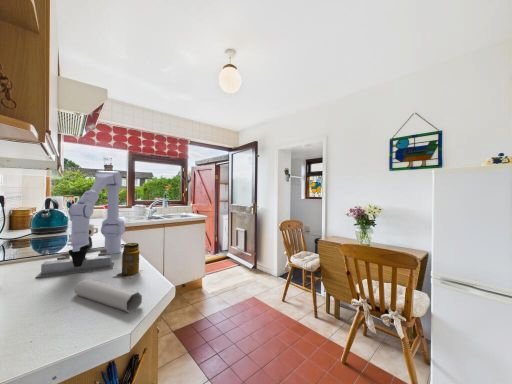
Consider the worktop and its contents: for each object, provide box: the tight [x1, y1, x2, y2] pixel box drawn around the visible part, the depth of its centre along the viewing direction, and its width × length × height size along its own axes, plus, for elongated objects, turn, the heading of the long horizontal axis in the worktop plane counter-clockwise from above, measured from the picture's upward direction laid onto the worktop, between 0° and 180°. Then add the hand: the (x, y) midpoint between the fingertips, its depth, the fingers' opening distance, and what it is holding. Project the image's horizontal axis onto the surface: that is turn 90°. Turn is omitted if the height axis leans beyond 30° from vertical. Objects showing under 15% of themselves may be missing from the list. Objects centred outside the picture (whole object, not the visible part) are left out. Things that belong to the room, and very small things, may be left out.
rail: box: [40, 254, 112, 275], centre depth 89 cm, size 4×22×4 cm, turn 120°
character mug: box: [89, 223, 99, 248], centre depth 122 cm, size 11×7×13 cm, turn 125°
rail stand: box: [56, 248, 108, 260], centre depth 97 cm, size 8×20×4 cm, turn 120°
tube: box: [74, 278, 143, 314], centre depth 65 cm, size 5×5×25 cm
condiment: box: [113, 242, 144, 279], centre depth 86 cm, size 7×8×12 cm
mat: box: [34, 261, 115, 279], centre depth 89 cm, size 8×24×1 cm, turn 120°
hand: (79, 264), depth 89 cm, fingers open, 5 cm apart
